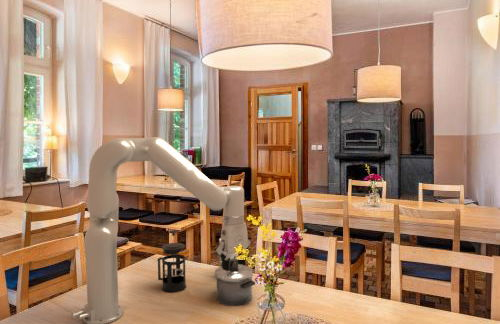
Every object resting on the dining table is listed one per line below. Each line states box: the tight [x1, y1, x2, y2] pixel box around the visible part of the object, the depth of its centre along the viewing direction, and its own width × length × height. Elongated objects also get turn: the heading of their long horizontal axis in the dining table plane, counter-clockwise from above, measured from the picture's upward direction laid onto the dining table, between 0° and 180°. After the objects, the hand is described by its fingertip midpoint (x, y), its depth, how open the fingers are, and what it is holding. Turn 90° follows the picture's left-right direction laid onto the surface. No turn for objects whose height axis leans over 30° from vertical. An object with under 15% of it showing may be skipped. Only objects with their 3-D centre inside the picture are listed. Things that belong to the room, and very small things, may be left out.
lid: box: [214, 259, 254, 282], centre depth 132 cm, size 14×14×5 cm
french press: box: [157, 229, 187, 294], centre depth 141 cm, size 12×9×23 cm
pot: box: [213, 272, 256, 307], centre depth 132 cm, size 14×17×9 cm
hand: (234, 266), depth 132 cm, fingers open, 7 cm apart
